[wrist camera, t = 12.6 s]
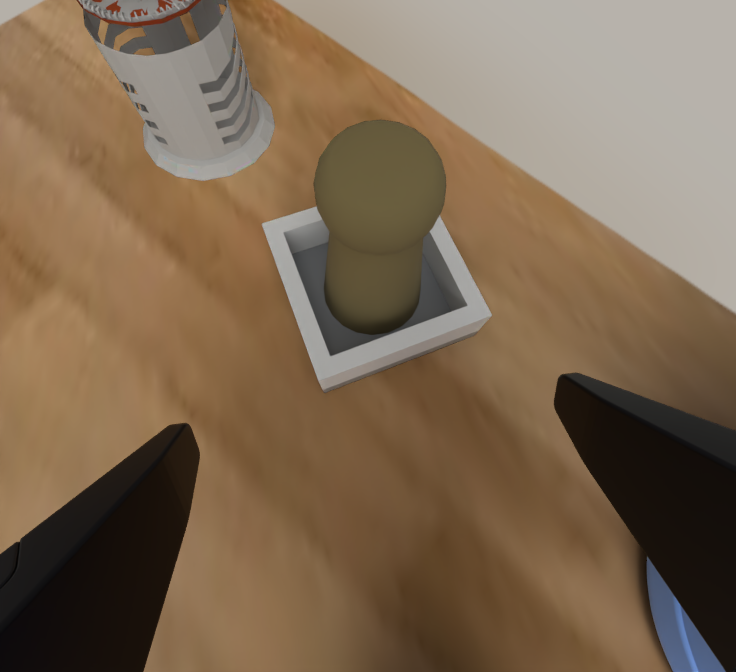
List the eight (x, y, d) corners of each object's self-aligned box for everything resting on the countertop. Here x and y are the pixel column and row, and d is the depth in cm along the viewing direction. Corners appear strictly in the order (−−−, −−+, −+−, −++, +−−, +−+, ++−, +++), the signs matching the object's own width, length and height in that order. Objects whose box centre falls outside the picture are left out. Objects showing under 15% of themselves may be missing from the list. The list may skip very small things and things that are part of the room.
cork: (383, 354, 23) (404, 262, 13) (303, 298, 24) (261, 169, 14) (439, 280, 25) (498, 144, 14) (362, 230, 26) (364, 68, 15)
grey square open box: (474, 335, 25) (492, 315, 21) (324, 393, 23) (318, 381, 20) (410, 209, 27) (417, 174, 24) (273, 254, 26) (261, 223, 23)
